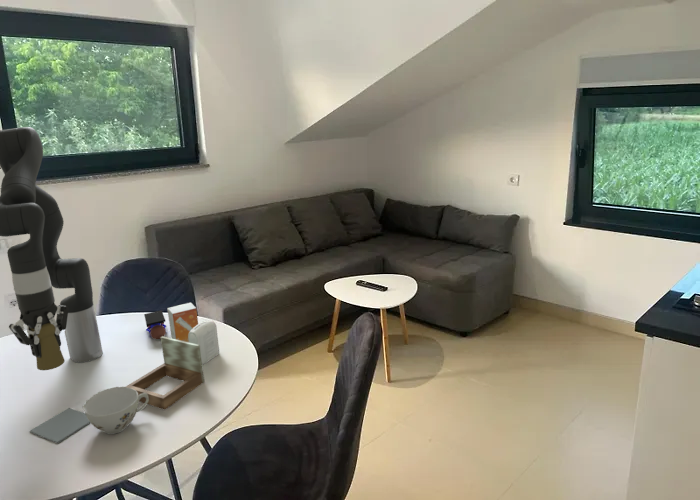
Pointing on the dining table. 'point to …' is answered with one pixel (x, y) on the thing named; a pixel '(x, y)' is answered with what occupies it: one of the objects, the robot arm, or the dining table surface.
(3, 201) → the robot arm
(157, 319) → the figurine character
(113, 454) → the dining table surface
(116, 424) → the teacup
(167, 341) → the cold frame
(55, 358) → the cork
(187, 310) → the small box
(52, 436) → the mat
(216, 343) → the photo printer
